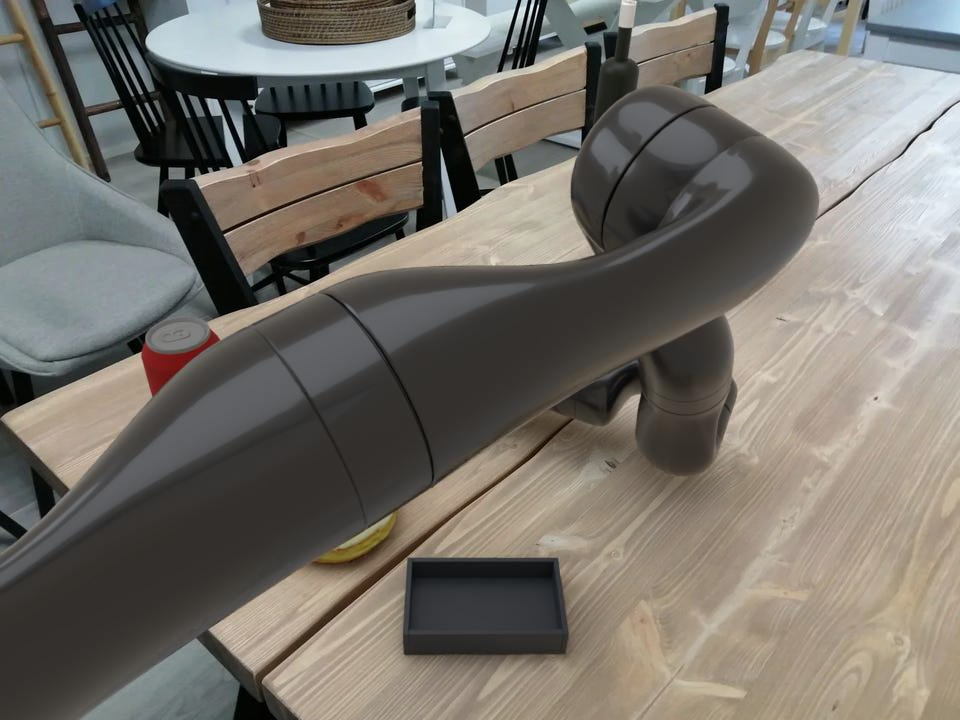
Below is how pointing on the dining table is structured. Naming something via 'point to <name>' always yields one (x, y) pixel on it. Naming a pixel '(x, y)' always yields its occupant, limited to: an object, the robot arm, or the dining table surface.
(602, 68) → the wine bottle
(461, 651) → the tray
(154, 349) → the beverage can
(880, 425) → the dining table surface
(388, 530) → the decorated donut
